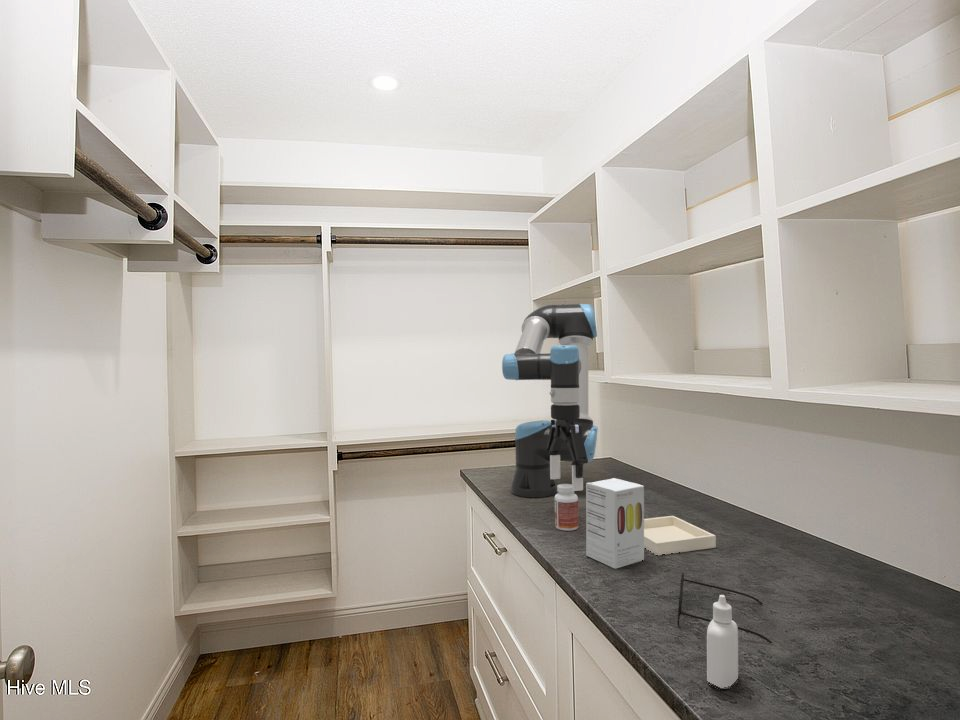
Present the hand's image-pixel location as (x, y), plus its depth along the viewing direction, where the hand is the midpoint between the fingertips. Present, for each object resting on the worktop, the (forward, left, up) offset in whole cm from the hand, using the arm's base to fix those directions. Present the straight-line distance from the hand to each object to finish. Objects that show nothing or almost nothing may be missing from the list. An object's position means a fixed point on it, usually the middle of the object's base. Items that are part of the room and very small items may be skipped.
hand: (565, 484), depth 140 cm
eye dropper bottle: (+66, -7, -12) cm, 67 cm away
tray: (+16, +19, -12) cm, 27 cm away
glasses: (+51, +6, -12) cm, 53 cm away
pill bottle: (0, 0, -12) cm, 12 cm away
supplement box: (+22, +2, -12) cm, 25 cm away
